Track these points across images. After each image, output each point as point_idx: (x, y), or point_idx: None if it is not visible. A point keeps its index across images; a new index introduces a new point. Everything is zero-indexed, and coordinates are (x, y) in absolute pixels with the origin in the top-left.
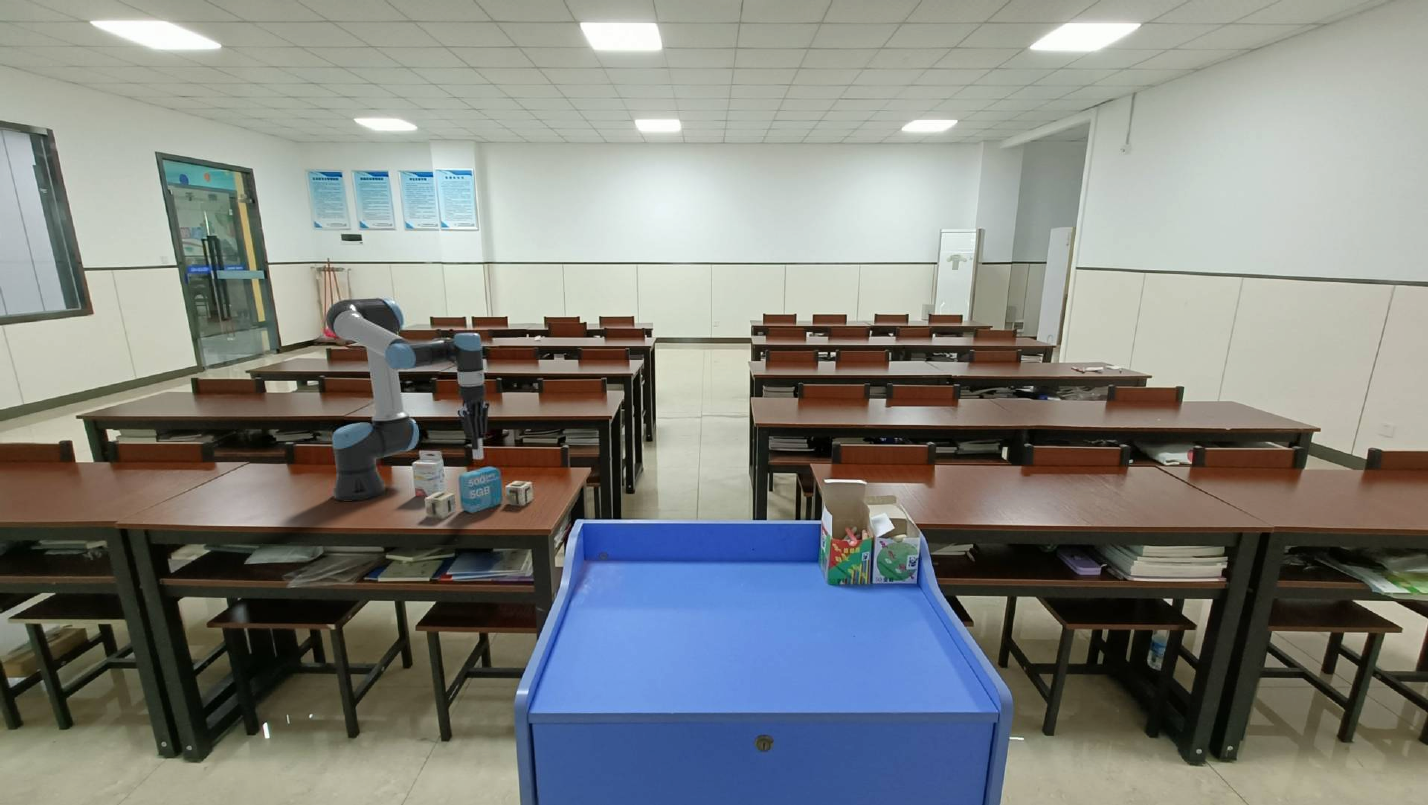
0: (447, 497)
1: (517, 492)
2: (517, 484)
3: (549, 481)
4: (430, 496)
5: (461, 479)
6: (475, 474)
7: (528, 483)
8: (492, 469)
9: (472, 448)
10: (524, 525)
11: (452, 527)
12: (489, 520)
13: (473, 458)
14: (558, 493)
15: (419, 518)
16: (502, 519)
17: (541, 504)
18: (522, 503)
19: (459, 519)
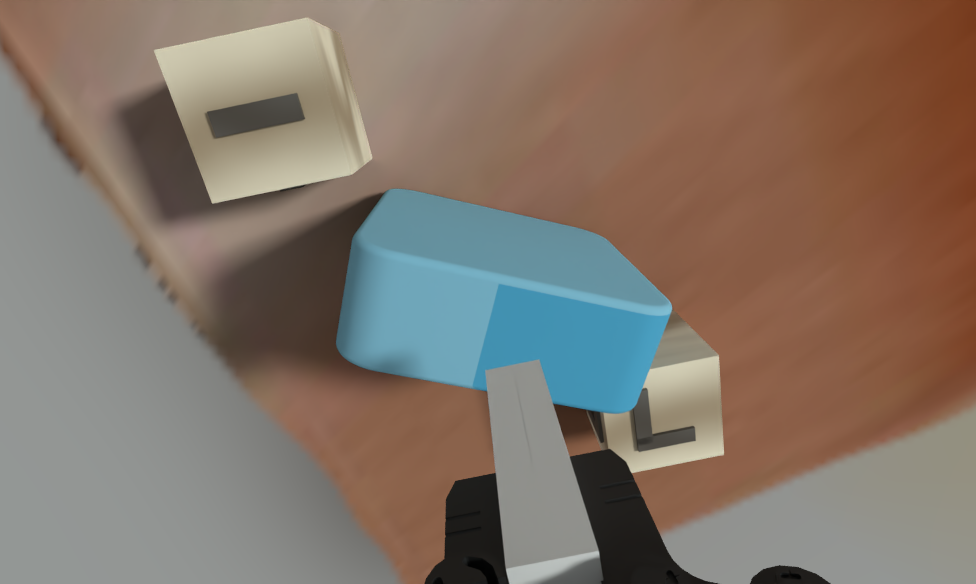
0: (275, 190)
1: (598, 437)
2: (661, 413)
3: (959, 288)
4: (206, 57)
5: (345, 285)
6: (426, 376)
7: (697, 453)
8: (587, 400)
9: (450, 503)
10: (406, 560)
11: (213, 322)
12: (372, 408)
13: (486, 376)
14: (788, 445)
15: (175, 39)
16: (410, 448)
17: None
18: (589, 419)
19: (301, 272)
